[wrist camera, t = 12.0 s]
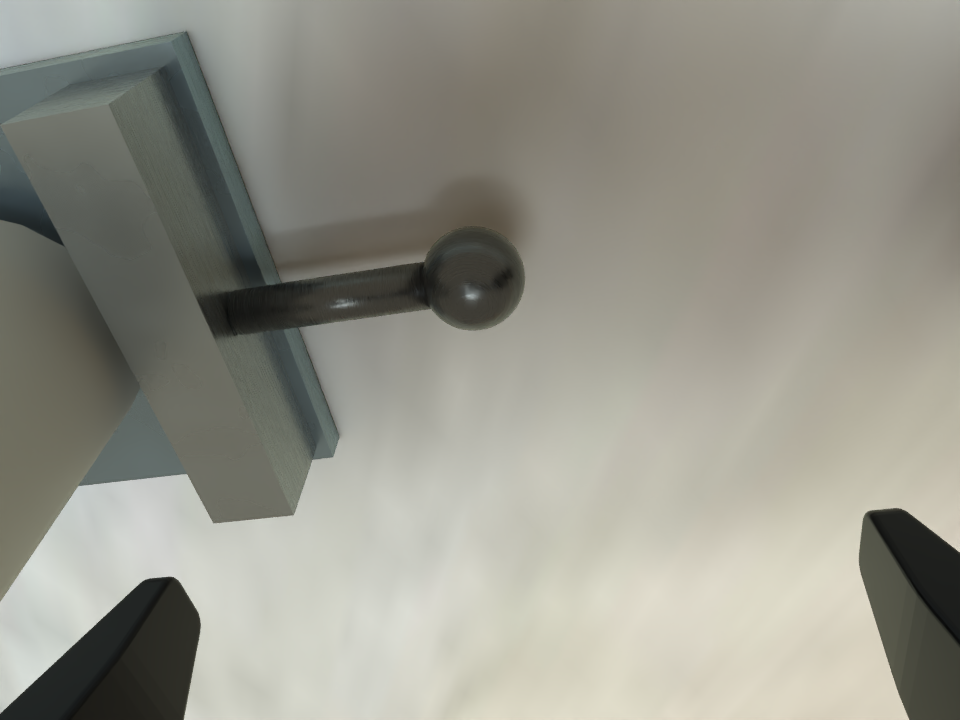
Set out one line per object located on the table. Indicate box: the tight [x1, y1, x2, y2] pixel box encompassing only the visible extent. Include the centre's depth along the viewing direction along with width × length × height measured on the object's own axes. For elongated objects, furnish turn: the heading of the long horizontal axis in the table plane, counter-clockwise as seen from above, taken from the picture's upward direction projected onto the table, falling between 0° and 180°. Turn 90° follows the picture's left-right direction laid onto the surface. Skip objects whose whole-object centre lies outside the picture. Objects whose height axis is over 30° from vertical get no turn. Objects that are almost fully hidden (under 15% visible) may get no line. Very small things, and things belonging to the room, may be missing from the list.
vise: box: [0, 32, 525, 523], centre depth 20 cm, size 22×13×7 cm, turn 101°
